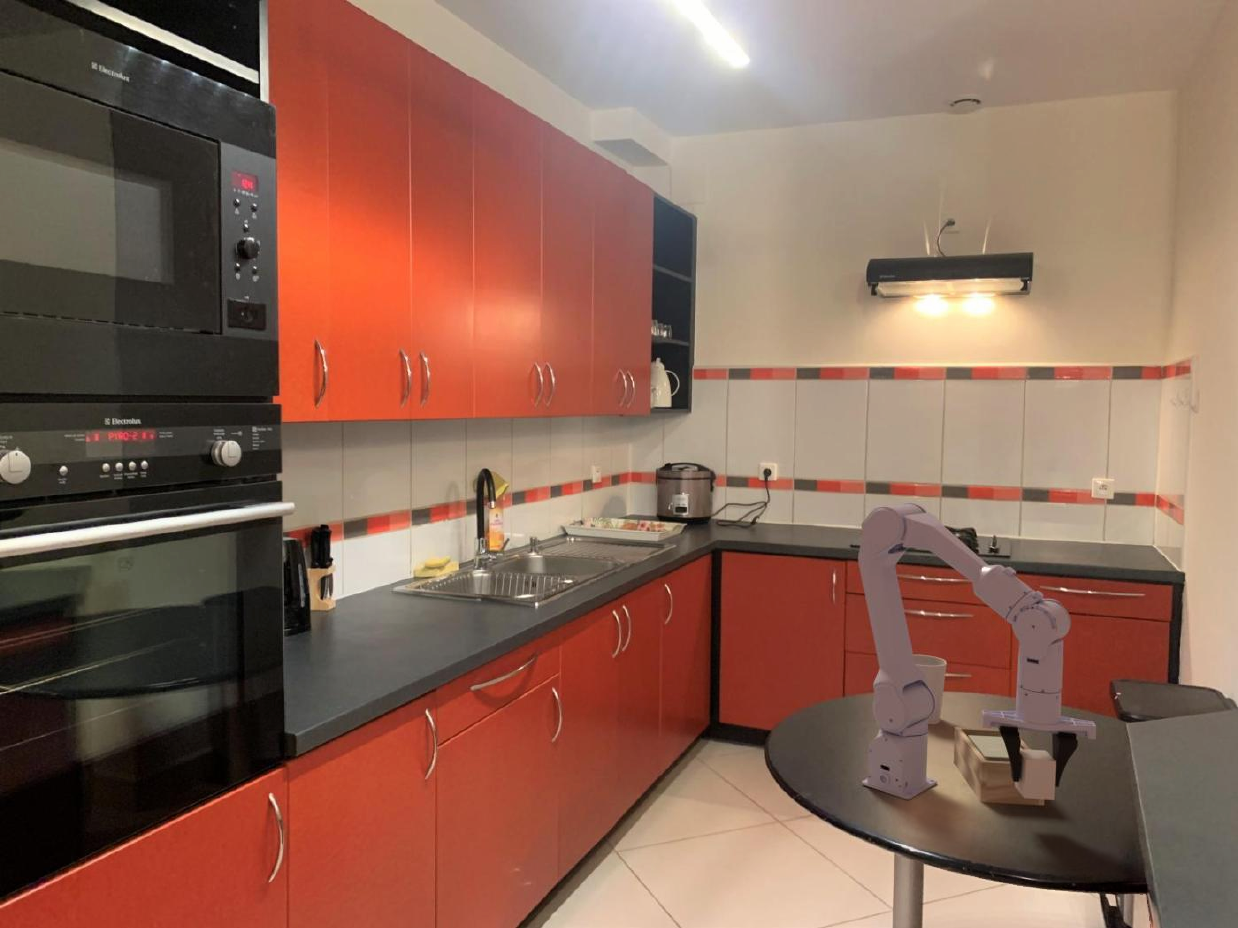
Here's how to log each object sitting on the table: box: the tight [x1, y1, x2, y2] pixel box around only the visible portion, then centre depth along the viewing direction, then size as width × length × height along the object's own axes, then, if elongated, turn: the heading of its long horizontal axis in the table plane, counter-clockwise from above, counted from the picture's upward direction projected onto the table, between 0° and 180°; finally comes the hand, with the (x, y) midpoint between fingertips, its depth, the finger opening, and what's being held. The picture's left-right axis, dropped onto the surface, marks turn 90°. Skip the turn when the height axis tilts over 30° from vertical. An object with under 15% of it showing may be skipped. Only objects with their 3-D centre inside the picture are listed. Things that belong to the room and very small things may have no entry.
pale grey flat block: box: [968, 735, 1022, 762], centre depth 141 cm, size 9×7×4 cm
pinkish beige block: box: [1015, 749, 1056, 801], centre depth 126 cm, size 4×4×6 cm
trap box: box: [953, 726, 1046, 806], centre depth 142 cm, size 15×9×6 cm, turn 174°
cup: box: [913, 654, 948, 725], centre depth 170 cm, size 8×8×12 cm
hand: (1034, 781), depth 126 cm, fingers closed on pinkish beige block, 4 cm apart
